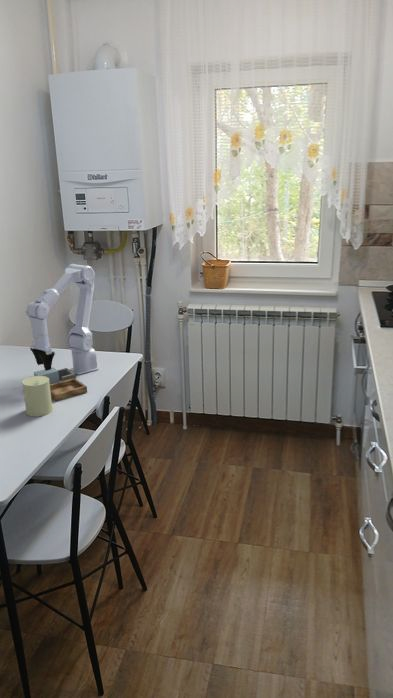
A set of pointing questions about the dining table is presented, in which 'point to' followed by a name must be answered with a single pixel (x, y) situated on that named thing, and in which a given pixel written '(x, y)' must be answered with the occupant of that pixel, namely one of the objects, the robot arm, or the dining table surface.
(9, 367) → the dining table surface
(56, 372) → the pale blue cuboid
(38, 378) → the can
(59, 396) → the tray
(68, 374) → the bay
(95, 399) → the dining table surface
